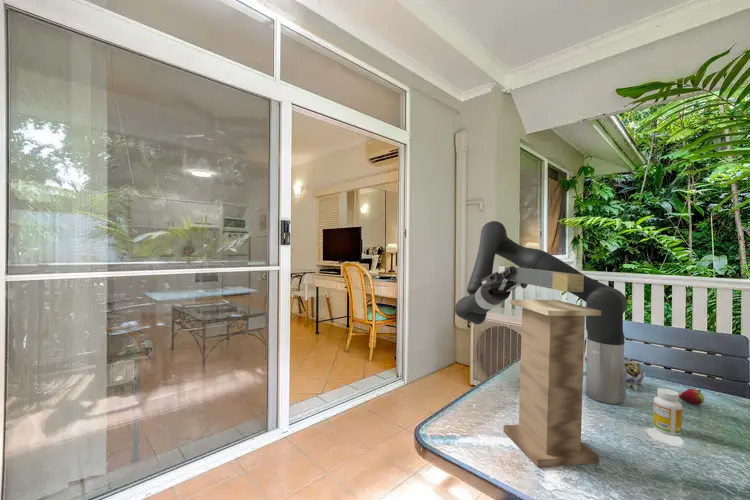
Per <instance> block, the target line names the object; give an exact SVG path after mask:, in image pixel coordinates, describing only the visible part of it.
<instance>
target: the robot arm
mask: <svg viewBox="0 0 750 500" xmlns="http://www.w3.org/2000/svg"><path fill="white" fill-rule="evenodd" d="M479 239H480V240H479V245H478V250H477V254H476V259H475V263H474V265H473V270H472V271H471V275H470V278H469V282H468V284H467V287H466V292H467V294H468V295H466V296H464V297H462V298H461V299H459V300H458V301H457V302H456V304H455V307H454V312H455V314H456V316H457V317H458V318H460V319H463V320H465V321H467V322H470V323H472V324H474V325H481V324H483V323H484V321H486V318H487V315H488V314H487V313H488V312H490V310H492V309H494V308H497V306H499V305H501V304H502V303H504V302H505V301H506V300H507V299H508V298H509V297H510V295H511V292H512V291H513V290H515V289H517V287H521V289H526V288H528V285H529V284H525V283H520V282H515V281H510V280H508V279H509V278H511V277H512V276H513V275H514V274H515V273H516V271H515V267H521V268H529V269H537V270H546V271H554V272H563V273H571V274H580V275H584V284H583V292H569V293H570V294H572V295H574V296H575V297H577V298H579V299H580V300H582V301H584V302H585V307H588V308H592V309H596V310H601V315H599V316H585V329H586V333H587V334H586V335H587V338H586V339H587V341H586V371H585V372H586V373H585V395H586V396H587V397H588V398H591V399H593V400H595V401H598V402H601V403H604V404H605V403H606V404H610V405H611V404H613V405H616V404H617V405H618V404H622V403H623V402H625V401H626V396H627V395H626V394H627V393H626V392H627V387H626V369H625V368H624V358H625V337H626V336H625V334H624V313H625V312H626V311H627V309H628V299H627V297H626V296H625V294H624V293H623V292H622V291H620V290H618V289H616V288H614V287H612V286H609V285H608V284H607V285H606V284H605V283H602V282H600V281H597V280H596V279H593V278H592V277H589V276H587V275H585V274H583V272H581V271H579V270H577V269H575V268H574V267H573V266H571V265H570V264H568V263H566V262H564V261H563V260H561V259H559V258H557V257H556V256H554V255H552V254H550V253H549V252H546V251H545V250H542V249H539V248H532V247H525V246H522V245H520V244H519V243H516V242H515V241H513V240H512V239H511V238H509V236H508V234H507V230H506V227H505V225H504V224H503V223H502V222H500V221H497V220H492V221H489V222H486V223H485V224H484V225H483V226H482V228H481V230H480V238H479ZM496 255H497V256H499V257H502V258H503V259H505V260H507V261H510V262H511V263H512V264H514V265H511V266H508V267H509V268H508V269H507V270H505V269H504V271H501V272H500V273H499V272H498V271H495V272H494V271H493V270H494V262H495V258H496V257H495V256H496Z"/></svg>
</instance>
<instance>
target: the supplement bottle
mask: <svg viewBox="0 0 750 500" xmlns="http://www.w3.org/2000/svg"><path fill="white" fill-rule="evenodd" d="M679 395H680V394H679V392H677V391H675V390H672V389H668V388H663V387H662V388H660V387H659V388H657V396H655V397H654V398H653V408H652V409H653V411H652V415H653V416H652V426H653V428H655V429H656V430H657V431H659V432H661V433H663V434H667V435H669V436H681V435H682V432H683V431H682V427H683V426H682V425H683V405H682V403H681V402H680V401H679V399H680V398H679Z"/></svg>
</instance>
